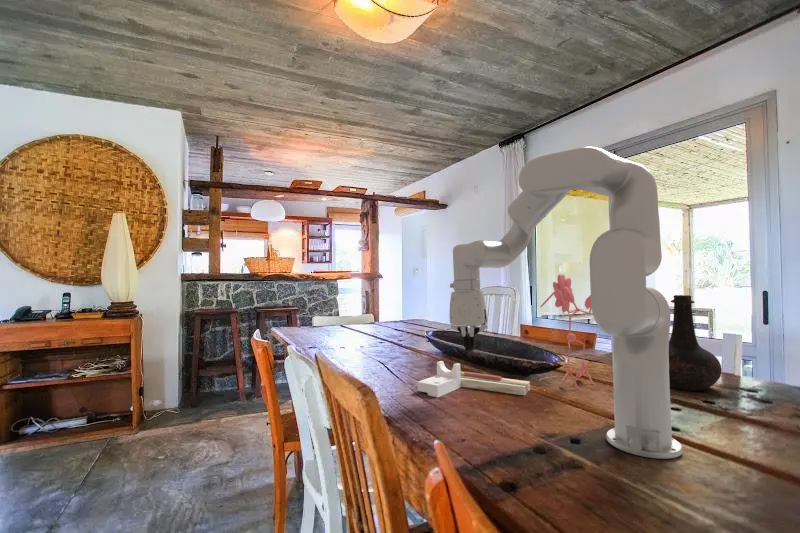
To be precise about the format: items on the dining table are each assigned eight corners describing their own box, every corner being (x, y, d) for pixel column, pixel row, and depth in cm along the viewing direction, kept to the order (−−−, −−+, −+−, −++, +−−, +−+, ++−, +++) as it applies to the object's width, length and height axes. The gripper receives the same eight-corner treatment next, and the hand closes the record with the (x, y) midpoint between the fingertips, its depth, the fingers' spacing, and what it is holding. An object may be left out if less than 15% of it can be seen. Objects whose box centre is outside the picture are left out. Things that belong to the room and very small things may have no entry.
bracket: (441, 384, 123) (441, 360, 123) (460, 388, 118) (460, 363, 119) (417, 393, 113) (417, 368, 113) (437, 398, 108) (437, 371, 108)
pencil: (501, 379, 117) (501, 376, 117) (499, 380, 116) (499, 377, 116) (460, 373, 125) (460, 370, 125) (458, 374, 124) (458, 371, 124)
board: (524, 395, 109) (524, 386, 109) (447, 384, 121) (447, 376, 121) (530, 389, 115) (529, 381, 115) (456, 379, 127) (456, 372, 127)
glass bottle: (637, 379, 125) (633, 294, 126) (692, 379, 125) (689, 293, 126) (673, 395, 107) (669, 296, 109) (739, 395, 107) (734, 295, 108)
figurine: (608, 380, 124) (602, 273, 126) (566, 395, 108) (560, 273, 110) (564, 372, 136) (559, 275, 138) (520, 385, 121) (515, 275, 123)
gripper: (438, 287, 112) (440, 350, 110) (487, 285, 104) (491, 353, 103) (448, 287, 118) (451, 347, 117) (496, 285, 110) (499, 349, 109)
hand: (469, 350), depth 110 cm, fingers closed
